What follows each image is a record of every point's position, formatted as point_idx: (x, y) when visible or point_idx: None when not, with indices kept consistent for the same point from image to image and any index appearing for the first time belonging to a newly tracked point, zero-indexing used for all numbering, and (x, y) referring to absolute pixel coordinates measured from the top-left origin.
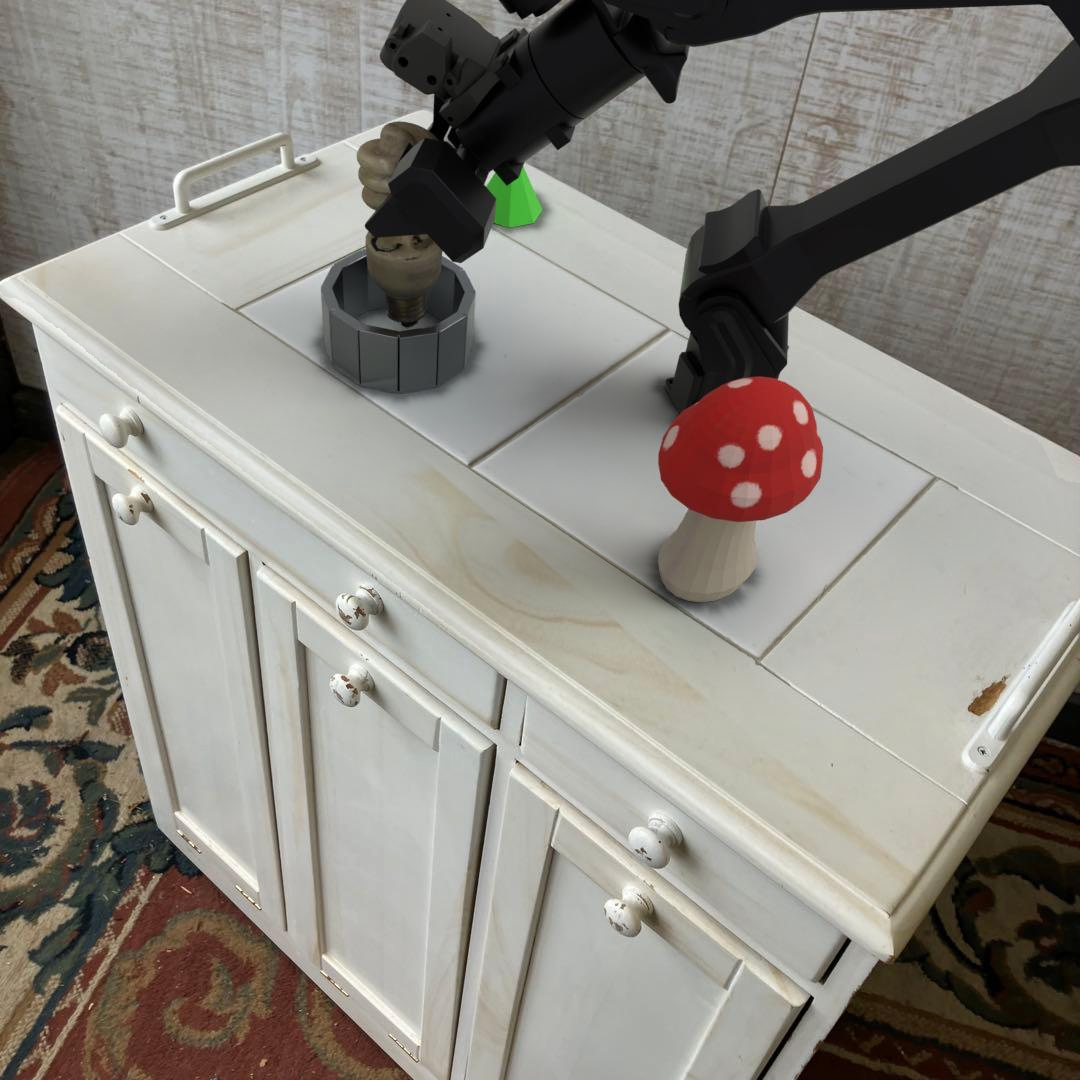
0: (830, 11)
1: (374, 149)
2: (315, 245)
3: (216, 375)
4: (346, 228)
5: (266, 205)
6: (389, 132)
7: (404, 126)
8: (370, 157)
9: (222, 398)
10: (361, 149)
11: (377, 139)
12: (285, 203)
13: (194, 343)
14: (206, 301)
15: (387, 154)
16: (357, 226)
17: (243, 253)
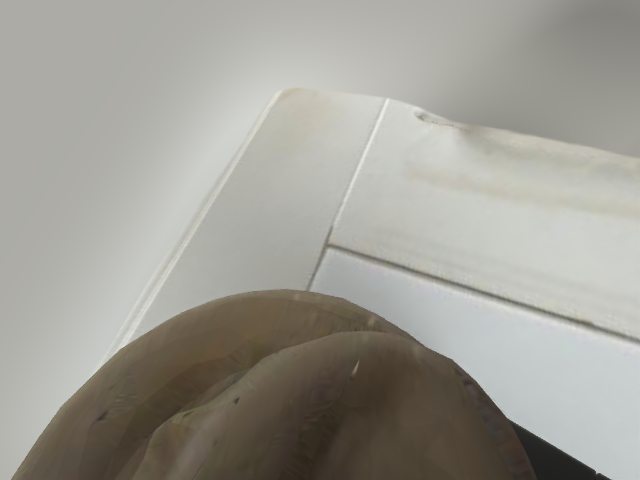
0: None
1: (248, 359)
2: (511, 255)
3: (208, 288)
4: (583, 270)
5: (543, 165)
6: (201, 430)
7: (436, 452)
8: (74, 401)
9: (172, 314)
10: (191, 315)
11: (365, 323)
12: (567, 179)
13: (252, 240)
14: (327, 212)
15: (130, 477)
16: (601, 281)
17: (433, 196)
